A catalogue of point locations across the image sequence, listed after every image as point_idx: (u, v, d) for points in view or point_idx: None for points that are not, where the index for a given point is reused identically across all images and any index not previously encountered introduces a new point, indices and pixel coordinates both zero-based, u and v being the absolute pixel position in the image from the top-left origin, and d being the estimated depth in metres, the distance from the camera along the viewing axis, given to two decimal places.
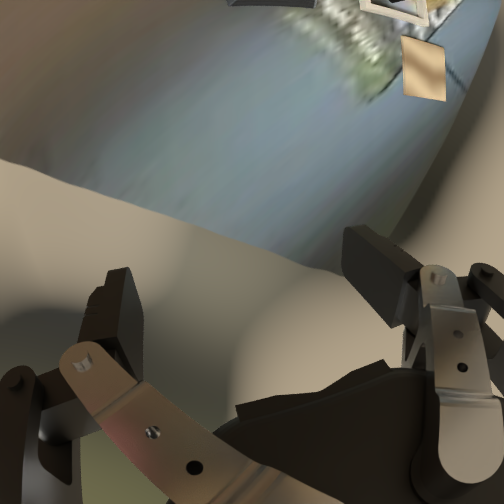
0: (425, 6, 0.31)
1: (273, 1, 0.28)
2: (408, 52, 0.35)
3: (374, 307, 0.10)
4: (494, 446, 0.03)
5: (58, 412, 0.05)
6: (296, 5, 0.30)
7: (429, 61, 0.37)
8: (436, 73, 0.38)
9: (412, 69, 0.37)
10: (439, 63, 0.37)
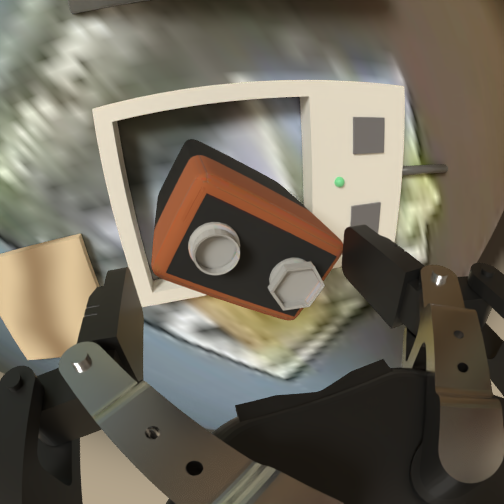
0: (194, 293, 0.20)
1: None
2: (49, 256, 0.17)
3: (375, 307, 0.10)
4: (494, 446, 0.03)
5: (58, 412, 0.05)
6: None
7: (66, 315, 0.20)
8: (56, 335, 0.20)
9: (22, 272, 0.17)
10: None
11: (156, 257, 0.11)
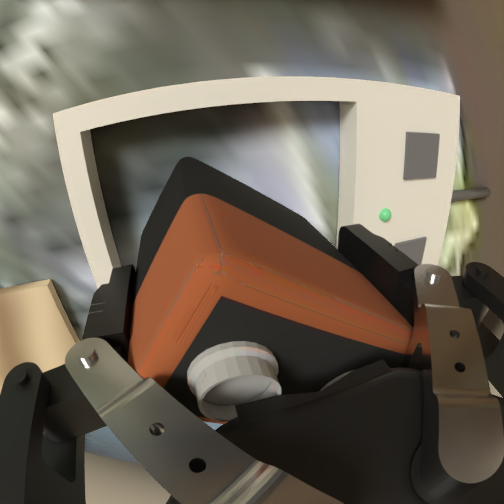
0: None
1: None
2: (14, 306, 0.12)
3: None
4: (494, 445, 0.03)
5: (63, 409, 0.05)
6: None
7: (43, 370, 0.15)
8: None
9: None
10: None
11: None
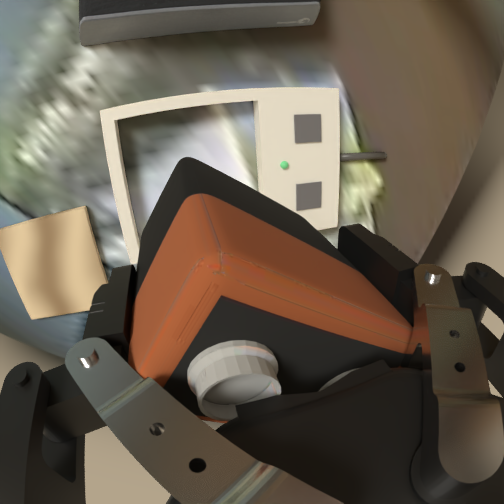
0: None
1: None
2: (59, 224, 0.23)
3: None
4: (494, 445, 0.03)
5: (63, 409, 0.05)
6: None
7: (69, 274, 0.25)
8: (59, 293, 0.25)
9: (35, 238, 0.22)
10: (80, 298, 0.26)
11: None
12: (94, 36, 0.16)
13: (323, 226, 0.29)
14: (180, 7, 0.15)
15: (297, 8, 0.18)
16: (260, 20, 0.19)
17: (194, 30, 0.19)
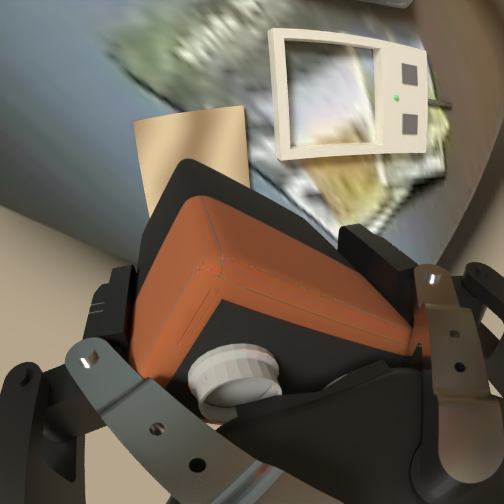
0: (316, 154, 0.29)
1: None
2: (215, 117, 0.26)
3: None
4: (494, 445, 0.03)
5: (63, 409, 0.05)
6: None
7: None
8: None
9: (184, 129, 0.26)
10: None
11: None
12: None
13: (417, 150, 0.32)
14: None
15: None
16: None
17: None
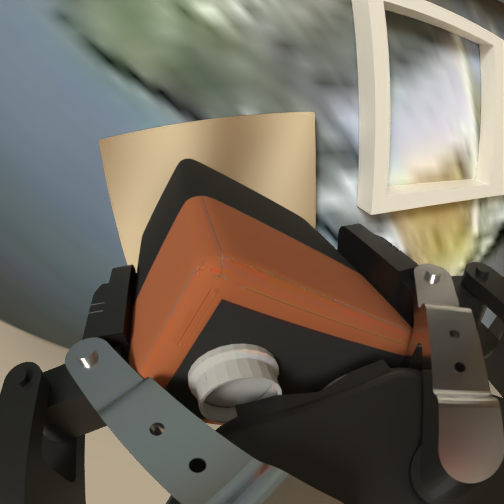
0: (419, 202, 0.17)
1: None
2: (261, 133, 0.14)
3: None
4: (494, 445, 0.03)
5: (63, 409, 0.05)
6: None
7: None
8: None
9: (201, 156, 0.13)
10: None
11: None
12: None
13: None
14: None
15: None
16: None
17: None
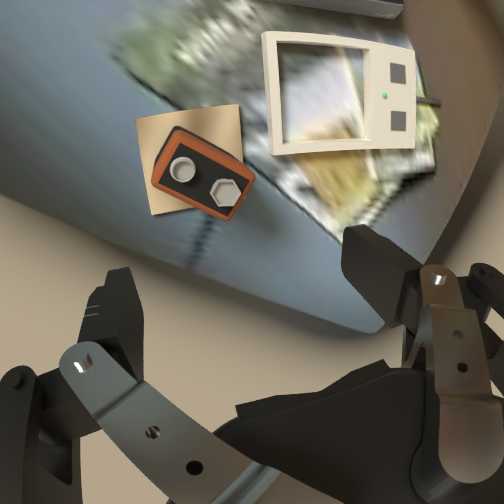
0: (307, 149, 0.31)
1: None
2: (211, 115, 0.28)
3: (374, 307, 0.10)
4: (494, 446, 0.03)
5: (58, 412, 0.05)
6: None
7: None
8: None
9: (183, 126, 0.28)
10: None
11: (153, 175, 0.21)
12: None
13: (406, 146, 0.34)
14: None
15: (391, 6, 0.23)
16: (367, 10, 0.24)
17: (324, 7, 0.24)
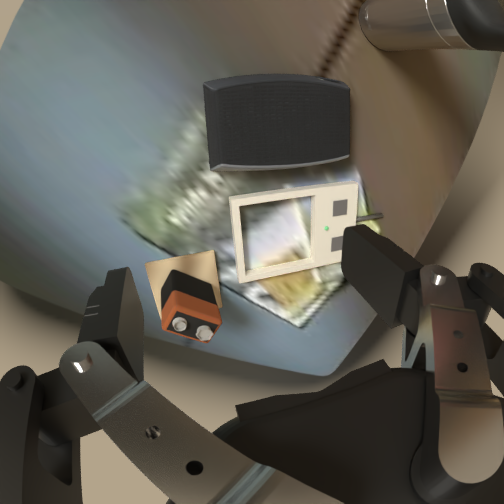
0: (263, 276, 0.47)
1: (209, 124, 0.35)
2: (196, 260, 0.44)
3: (374, 307, 0.10)
4: (494, 446, 0.03)
5: (58, 412, 0.05)
6: (209, 149, 0.37)
7: None
8: None
9: (177, 268, 0.44)
10: None
11: (163, 325, 0.37)
12: (222, 170, 0.38)
13: None
14: (277, 165, 0.37)
15: (337, 160, 0.39)
16: None
17: None
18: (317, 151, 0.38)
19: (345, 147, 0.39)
